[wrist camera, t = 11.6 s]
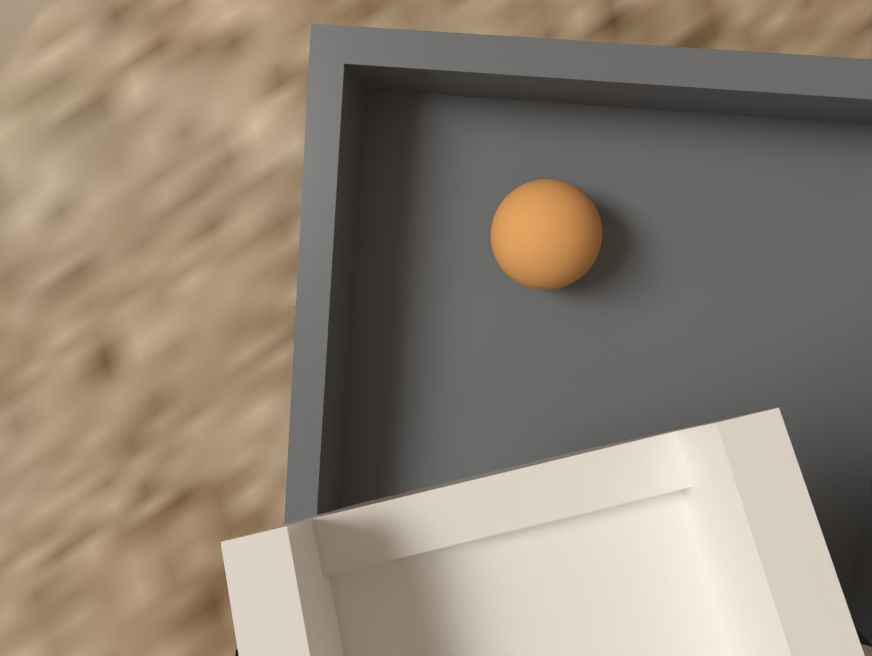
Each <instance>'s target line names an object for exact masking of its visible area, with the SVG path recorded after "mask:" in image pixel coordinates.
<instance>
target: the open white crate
mask: <svg viewBox="0 0 872 656" xmlns="http://www.w3.org/2000/svg"><path fill="white" fill-rule="evenodd" d="M221 546H222V553H223V559H224V565H225V572H226V578H227V584H228V591H229V597H230V604H231V610H232V616H233V623H234V629H235V635H236V642H237V648H238V654H239V656H865V655H864V652H863V649H862V647H861V644H860V641H859V638H858V635H857V632H856V629H855V626H854V623H853V621H852V618H851V615H850V612H849V609H848V606H847V603H846V600H845V597H844V594H843V592H842V589H841V586H840V583H839V580H838V577H837V574H836V571H835V568H834V566H833V563H832V560H831V557H830V554H829V551H828V548H827V545H826V542H825V540H824V537H823V534H822V531H821V528H820V525H819V522H818V519H817V516H816V513H815V511H814V508H813V505H812V502H811V499H810V496H809V493H808V490H807V487H806V485H805V482H804V479H803V476H802V473H801V470H800V467H799V464H798V461H797V459H796V456H795V453H794V450H793V447H792V444H791V441H790V438H789V435H788V433H787V430H786V427H785V424H784V421H783V418H782V415H781V412H780V409H779V408H775V409H770V410H765V411H761V412H756V413H751V414H747V415H742V416H738V417H733V418H728V419H724V420H719V421H714V422H710V423H705V424H700V425H696V426H691V427H686V428H682V429H677V430H672V431H668V432H663V433H658V434H654V435H649V436H645V437H640V438H635V439H631V440H626V441H621V442H617V443H612V444H607V445H603V446H598V447H593V448H589V449H584V450H579V451H575V452H571V453H567V454H563V455H558V456H554V457H550V458H546V459H542V460H538V461H533V462H529V463H525V464H521V465H517V466H513V467H509V468H504V469H500V470H496V471H492V472H488V473H484V474H479V475H475V476H471V477H467V478H463V479H459V480H455V481H450V482H446V483H442V484H438V485H434V486H430V487H425V488H421V489H417V490H413V491H409V492H405V493H400V494H396V495H392V496H388V497H384V498H380V499H376V500H371V501H367V502H363V503H359V504H356V505H352V506H348V507H345V508H341V509H338V510H334V511H331V512H327V513H323V514H320V515H316V516H313V517H309V518H305V519H302V520H298V521H295V522H291V523H287V524H284V525H280V526H277V527H273V528H270V529H266V530H262V531H259V532H255V533H252V534H248V535H244V536H241V537H237V538H234V539H230V540H226V541H223V542H221Z"/></svg>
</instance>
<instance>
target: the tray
mask: <svg viewBox="0 0 872 656" xmlns="http://www.w3.org/2000/svg"><path fill="white" fill-rule="evenodd" d="M538 179H557V180H562V181H565V182H568V183H570V184H572V185H575V186H576V187H578V188H579V189H581V190H582V191H583V192H584V193H585V194H587V195H588V197H589V198H590V199H591V200H592V202H593V203H594V205H595V207H596V208H597V210H598V213H599V215H600V219H601V223H602V232H603V233H602V243H601V248H600V251H599V254H598V256H597V258H596V260H595V262H594V264H593V265H592V267H591V268H590V269H589V270H588V271H587V272H586V274H584V275H583V276H582V277H581V278H580V279H578V280H577V281H575V282H574V283H572V284H570V285H568V286H565V287H562V288H559V289H553V290H537V289H532V288H528V287H526V286H523V285H521V284H519V283H517V282H516V281H514V280H513V279H511V278H510V277H509V276H508V275H507V274H506V273H505V272H504V271H503V270H502V268H501V267H500V266H499V264H498V262H497V260H496V258H495V256H494V253H493V250H492V245H491V226H492V221H493V218H494V215H495V213H496V211H497V209H498V207H499V205H500V204H501V202H502V201H503V200H504V199H505V197H506V196H507V195H508V194H509V193H511V192H512V191H513V190H514V189H516V188H518V187H519V186H521V185H523V184H525V183H528V182H530V181H534V180H538ZM775 408H779V409H780V412H781V415H782V418H783V421H784V424H785V427H786V430H787V433H788V435H789V438H790V441H791V444H792V447H793V450H794V453H795V456H796V459H797V461H798V464H799V467H800V470H801V473H802V476H803V479H804V482H805V485H806V487H807V490H808V493H809V496H810V499H811V502H812V505H813V508H814V511H815V513H816V516H817V519H818V522H819V525H820V528H821V531H822V534H823V537H824V540H825V542H826V545H827V548H828V551H829V554H830V557H831V560H832V563H833V566H834V568H835V571H836V574H837V577H838V580H839V583H840V586H841V589H842V592H843V594H844V597H845V600H846V603H847V606H848V609H849V612H850V615H851V618H852V621H853V623H854V625H855V627H856V628H857V629H858V631H859V632H860V633H861V634H862V635H863V637H864V638H866V639H867V640H868V641H869V642H870V643H871V644H872V59H857V58H841V57H825V56H810V55H794V54H778V53H763V52H747V51H731V50H715V49H700V48H684V47H668V46H652V45H637V44H621V43H605V42H590V41H574V40H558V39H542V38H527V37H511V36H495V35H479V34H464V33H448V32H432V31H417V30H401V29H385V28H369V27H354V26H338V25H322V24H311V37H310V55H309V74H308V93H307V112H306V130H305V149H304V168H303V186H302V205H301V224H300V243H299V261H298V280H297V299H296V317H295V336H294V355H293V374H292V392H291V411H290V430H289V448H288V467H287V486H286V505H285V523H284V524H287V523H291V522H295V521H298V520H302V519H305V518H309V517H313V516H316V515H320V514H323V513H327V512H331V511H334V510H338V509H341V508H345V507H348V506H352V505H356V504H359V503H363V502H367V501H371V500H376V499H380V498H384V497H388V496H392V495H396V494H400V493H405V492H409V491H413V490H417V489H421V488H425V487H430V486H434V485H438V484H442V483H446V482H450V481H455V480H459V479H463V478H467V477H471V476H475V475H479V474H484V473H488V472H492V471H496V470H500V469H504V468H509V467H513V466H517V465H521V464H525V463H529V462H533V461H538V460H542V459H546V458H550V457H554V456H558V455H563V454H567V453H571V452H575V451H579V450H584V449H589V448H593V447H598V446H603V445H607V444H612V443H617V442H621V441H626V440H631V439H635V438H640V437H645V436H649V435H654V434H658V433H663V432H668V431H672V430H677V429H682V428H686V427H691V426H696V425H700V424H705V423H710V422H714V421H719V420H724V419H728V418H733V417H738V416H742V415H747V414H751V413H756V412H761V411H765V410H770V409H775Z"/></svg>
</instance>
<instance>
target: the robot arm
mask: <svg viewBox="0 0 872 656" xmlns="http://www.w3.org/2000/svg"><path fill="white" fill-rule="evenodd" d="M854 626H855V625H854ZM855 629H856V632H857V635H858V638H859V641H860V644H861V647H862V649H863V652H864V655H865V656H872V644H871V643H870V642H869V641H868V640H867V639H866V638H864V637H863V635H862V634H861V633H860V632H859V631H858V629H857V628H856V627H855ZM235 656H239V654H238V649H236V655H235Z"/></svg>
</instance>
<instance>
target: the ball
mask: <svg viewBox="0 0 872 656" xmlns="http://www.w3.org/2000/svg"><path fill="white" fill-rule="evenodd" d="M602 233H603V232H602V223H601V219H600V215H599V213H598V210H597V208H596V207H595V205H594V203H593V202H592V200H591V199H590V198H589V197H588V195H587V194H585V193H584V192H583V191H582V190H581V189H579V188H578V187H576V186H575V185H572V184H570V183H568V182H565V181H562V180H557V179H538V180H534V181H530V182H528V183H525V184H523V185H521V186H519V187H518V188H516V189H514V190H513V191H512V192H511V193H509V194H508V195H507V196H506V197H505V199H504V200H503V201H502V202H501V204H500V205H499V207H498V209H497V211H496V213H495V215H494V218H493V221H492V226H491V245H492V250H493V253H494V256H495V258H496V260H497V262H498V264H499V266H500V267H501V268H502V270H503V271H504V272H505V273H506V274H507V275H508V276H509V277H510V278H511V279H513V280H514V281H516V282H517V283H519V284H521V285H523V286H526V287H528V288H532V289H537V290H553V289H559V288H562V287H565V286H568V285H570V284H572V283H574V282H575V281H577V280H578V279H580V278H581V277H582V276H583V275H584V274H586V272H587V271H588V270H589V269H590V268H591V267H592V265H593V264H594V262H595V260H596V258H597V256H598V254H599V251H600V248H601V243H602Z"/></svg>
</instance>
